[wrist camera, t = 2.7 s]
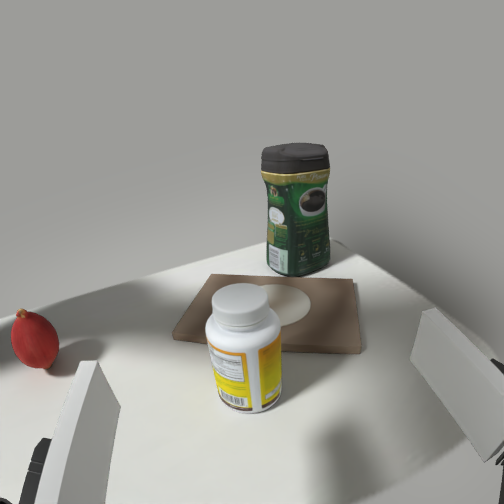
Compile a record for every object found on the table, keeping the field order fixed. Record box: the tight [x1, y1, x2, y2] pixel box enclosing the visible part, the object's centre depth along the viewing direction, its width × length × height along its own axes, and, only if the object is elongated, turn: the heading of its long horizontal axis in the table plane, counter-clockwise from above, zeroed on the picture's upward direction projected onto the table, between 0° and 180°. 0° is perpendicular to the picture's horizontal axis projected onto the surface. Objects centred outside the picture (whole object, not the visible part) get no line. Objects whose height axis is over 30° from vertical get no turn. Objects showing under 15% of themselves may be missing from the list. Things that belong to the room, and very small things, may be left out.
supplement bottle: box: [205, 283, 282, 413], centre depth 24 cm, size 6×6×10 cm
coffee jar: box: [261, 143, 330, 277], centre depth 45 cm, size 10×8×19 cm
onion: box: [11, 309, 59, 369], centre depth 26 cm, size 6×6×8 cm
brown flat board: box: [172, 274, 361, 354], centre depth 37 cm, size 20×14×1 cm
